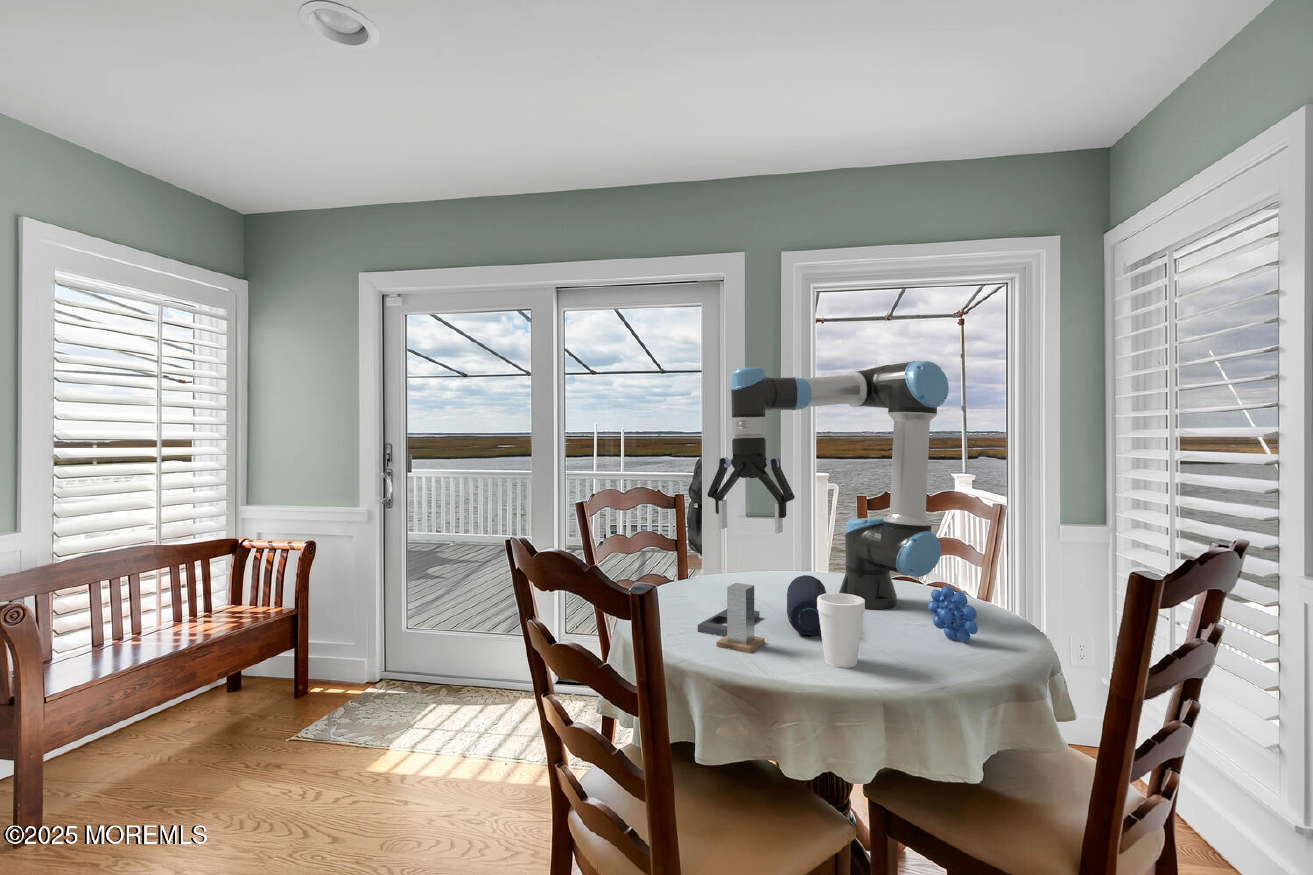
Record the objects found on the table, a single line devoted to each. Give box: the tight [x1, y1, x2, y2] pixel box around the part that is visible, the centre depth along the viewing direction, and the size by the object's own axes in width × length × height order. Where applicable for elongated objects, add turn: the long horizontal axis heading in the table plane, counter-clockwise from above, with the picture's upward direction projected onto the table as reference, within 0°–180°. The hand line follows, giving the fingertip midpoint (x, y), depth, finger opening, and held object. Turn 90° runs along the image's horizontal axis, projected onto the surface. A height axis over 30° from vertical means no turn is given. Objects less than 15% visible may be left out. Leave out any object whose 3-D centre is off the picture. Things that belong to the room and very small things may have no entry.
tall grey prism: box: [726, 582, 755, 645], centre depth 145 cm, size 4×4×12 cm
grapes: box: [927, 585, 979, 643], centre depth 147 cm, size 12×7×12 cm, turn 36°
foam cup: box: [817, 592, 866, 669], centre depth 134 cm, size 10×9×13 cm
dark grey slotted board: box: [697, 608, 761, 637], centre depth 159 cm, size 8×18×2 cm, turn 148°
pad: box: [716, 635, 766, 654], centre depth 145 cm, size 8×8×1 cm
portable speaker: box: [786, 574, 828, 636], centre depth 160 cm, size 25×10×10 cm, turn 169°
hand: (750, 530), depth 148 cm, fingers open, 13 cm apart
